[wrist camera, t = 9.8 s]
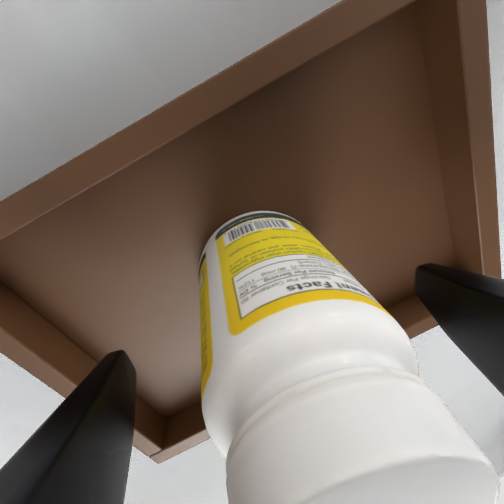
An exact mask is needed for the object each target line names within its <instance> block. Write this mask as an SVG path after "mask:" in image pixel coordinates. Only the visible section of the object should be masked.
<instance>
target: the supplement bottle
mask: <svg viewBox="0 0 504 504" xmlns="http://www.w3.org/2000/svg"><path fill="white" fill-rule="evenodd" d="M198 279H199V305H200V336H201V340H200V343H201V403H202V414H203V418H204V421H205V425H206V429H207V431H208V434H209V436H210V438H211V440H212V442H213V444H214V445H215V447H216V448H217V449H218V451H219V452H220V453H221V454H222V455H223V456H224V457H225V458H226V475H227V477H226V486H227V493H228V501H229V504H495V503H496V500H497V498H498V495H499V491H500V479H499V476H498V473H497V472H496V470H495V468H494V466H493V465H492V463H491V462H490V461H489V459H488V458H487V457H486V455H485V454H484V453H483V452H482V450H481V449H480V448H479V447H478V445H477V444H476V443H475V442H474V440H473V439H472V438H471V437H470V435H469V434H468V433H467V432H466V430H465V429H464V428H463V426H462V425H461V424H460V423H459V421H458V420H457V419H456V418H455V416H454V415H453V414H452V412H451V411H450V410H449V408H448V407H447V405H446V404H445V402H444V401H443V400H442V399H441V398H440V396H439V395H438V394H436V393H435V392H434V391H433V390H431V388H430V387H429V386H428V385H427V384H426V383H425V382H424V381H423V380H422V379H420V378H419V369H418V360H417V356H416V352H415V349H414V347H413V345H412V343H411V341H410V339H409V337H408V335H407V334H406V332H405V331H404V330H403V329H402V327H401V326H400V325H399V324H398V322H397V321H396V320H395V319H394V318H393V317H392V316H391V315H390V314H389V313H388V312H387V311H386V310H385V309H384V308H383V307H382V306H381V305H380V304H379V303H378V302H377V301H376V299H375V298H374V297H373V296H372V295H371V294H370V293H369V292H368V291H367V290H366V289H365V288H364V287H363V286H362V285H361V284H360V283H359V282H358V281H357V280H356V279H355V278H354V277H353V276H352V275H351V274H350V273H349V272H348V270H347V269H346V268H345V267H344V266H343V265H342V264H341V263H340V262H339V261H338V260H337V259H336V258H335V257H334V256H333V255H332V254H331V253H330V252H329V251H328V250H327V249H326V248H325V247H324V246H323V245H322V244H321V243H320V242H319V241H318V240H317V239H316V238H315V237H314V236H313V235H312V234H311V233H310V231H309V230H308V229H307V228H305V227H304V226H303V225H302V224H301V223H300V222H298V221H297V220H295V219H294V218H292V217H290V216H287V215H285V214H282V213H278V212H273V211H254V212H249V213H245V214H242V215H239V216H237V217H235V218H233V219H231V220H229V221H228V222H226V223H225V224H223V225H222V226H221V227H220V228H219V229H217V230H216V231H215V232H214V234H213V235H212V236H211V237H210V239H209V240H208V242H207V244H206V245H205V248H204V250H203V252H202V255H201V258H200V263H199V277H198Z"/></svg>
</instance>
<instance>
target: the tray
mask: <svg viewBox="0 0 504 504" xmlns="http://www.w3.org/2000/svg"><path fill="white" fill-rule="evenodd" d="M254 211H273V212H278V213H282V214H285V215H287V216H290V217H292V218H294V219H295V220H297V221H298V222H300V223H301V224H302V225H303V226H304V227H305V228H307V229H308V230H309V231H310V233H311V234H312V235H313V236H314V237H315V238H316V239H317V240H318V241H319V242H320V243H321V244H322V245H323V246H324V247H325V248H326V249H327V250H328V251H329V252H330V253H331V254H332V255H333V256H334V257H335V258H336V259H337V260H338V261H339V262H340V263H341V264H342V265H343V266H344V267H345V268H346V269H347V270H348V272H349V273H350V274H351V275H352V276H353V277H354V278H355V279H356V280H357V281H358V282H359V283H360V284H361V285H362V286H363V287H364V288H365V289H366V290H367V291H368V292H369V293H370V294H371V295H372V296H373V297H374V298H375V299H376V301H377V302H378V303H379V304H380V305H381V306H382V307H383V308H384V309H385V310H386V311H387V312H388V313H389V314H390V315H391V316H392V317H393V318H394V319H395V320H396V321H397V322H398V324H399V325H400V326H401V327H402V329H403V330H404V331H405V332H406V334H407V335H408V337H409V339H411V338H413V337H415V336H417V335H419V334H421V333H424V332H426V331H428V330H430V329H432V328H434V327H436V326H438V325H439V324H438V323H437V321H436V320H435V319H434V318H433V316H432V315H431V314H430V312H429V311H428V310H427V308H426V307H425V306H424V304H423V303H422V302H421V301H420V299H419V298H418V297H417V295H416V293H415V290H414V281H415V270H416V268H417V266H419V265H423V264H426V263H435V264H439V265H444V266H448V267H452V268H457V269H461V270H465V271H470V272H474V273H478V274H483V275H487V276H491V277H495V278H500V279H501V262H500V244H499V226H498V208H497V190H496V171H495V153H494V135H493V117H492V99H491V81H490V63H489V45H488V27H487V9H486V0H342V1H341V2H339V3H337V4H336V5H334V6H332V7H330V8H329V9H327V10H325V11H324V12H322V13H320V14H319V15H317V16H315V17H313V18H312V19H310V20H308V21H307V22H305V23H303V24H302V25H300V26H298V27H296V28H295V29H293V30H291V31H290V32H288V33H286V34H285V35H283V36H281V37H279V38H278V39H276V40H274V41H273V42H271V43H269V44H268V45H266V46H264V47H262V48H261V49H259V50H257V51H256V52H254V53H252V54H251V55H249V56H247V57H245V58H244V59H242V60H240V61H239V62H237V63H235V64H234V65H232V66H230V67H228V68H227V69H225V70H223V71H222V72H220V73H218V74H217V75H215V76H213V77H211V78H210V79H208V80H206V81H205V82H203V83H201V84H200V85H198V86H196V87H194V88H193V89H191V90H189V91H188V92H186V93H184V94H183V95H181V96H179V97H177V98H176V99H174V100H172V101H171V102H169V103H167V104H165V105H164V106H162V107H160V108H159V109H157V110H155V111H154V112H152V113H150V114H148V115H147V116H145V117H143V118H142V119H140V120H138V121H137V122H135V123H133V124H131V125H130V126H128V127H126V128H125V129H123V130H121V131H120V132H118V133H116V134H114V135H113V136H111V137H109V138H108V139H106V140H104V141H103V142H101V143H99V144H97V145H96V146H94V147H92V148H91V149H89V150H87V151H86V152H84V153H82V154H80V155H79V156H77V157H75V158H74V159H72V160H70V161H69V162H67V163H65V164H63V165H62V166H60V167H58V168H57V169H55V170H53V171H52V172H50V173H48V174H46V175H45V176H43V177H41V178H40V179H38V180H36V181H35V182H33V183H31V184H29V185H28V186H26V187H24V188H23V189H21V190H19V191H18V192H16V193H14V194H12V195H11V196H9V197H7V198H6V199H4V200H2V201H1V202H0V352H1V353H2V354H4V355H5V356H7V357H8V358H9V359H11V360H12V361H14V362H15V363H16V364H18V365H19V366H21V367H22V368H24V369H25V370H26V371H28V372H29V373H31V374H32V375H33V376H35V377H36V378H38V379H39V380H41V381H42V382H43V383H45V384H46V385H48V386H49V387H50V388H52V389H53V390H55V391H56V392H58V393H59V394H60V395H62V396H63V397H65V398H67V397H68V396H69V395H70V394H71V393H72V392H73V390H74V389H75V388H76V387H77V386H78V385H79V384H80V383H81V382H82V381H83V380H84V379H85V377H86V376H87V375H88V374H89V373H90V372H91V371H92V370H93V369H94V368H95V367H96V366H97V364H98V363H99V362H100V361H101V360H102V359H103V358H104V357H105V356H106V355H107V354H108V353H110V352H114V351H117V350H124V351H125V352H126V353H127V355H128V357H129V358H130V360H131V362H132V364H133V365H134V367H135V369H136V373H137V382H136V406H135V427H134V436H133V443H132V445H133V446H134V447H136V448H137V449H138V450H140V451H141V452H143V453H144V454H145V455H147V456H149V457H150V458H151V459H152V460H154V461H155V462H157V463H161V462H163V461H165V460H167V459H169V458H171V457H173V456H175V455H177V454H179V453H181V452H183V451H185V450H188V449H190V448H192V447H194V446H196V445H198V444H200V443H202V442H204V441H206V440H208V439H210V436H209V434H208V431H207V429H206V425H205V421H204V418H203V414H202V403H201V343H200V340H201V336H200V305H199V279H198V277H199V263H200V258H201V255H202V252H203V250H204V248H205V245H206V244H207V242H208V240H209V239H210V237H211V236H212V235H213V234H214V232H215V231H216V230H217V229H219V228H220V227H221V226H222V225H223V224H225V223H226V222H228V221H229V220H231V219H233V218H235V217H237V216H239V215H242V214H245V213H249V212H254Z"/></svg>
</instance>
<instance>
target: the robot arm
mask: <svg viewBox="0 0 504 504" xmlns="http://www.w3.org/2000/svg"><path fill="white" fill-rule="evenodd" d="M414 290H415V293H416V295H417V297H418V298H419V299H420V301H421V302H422V303H423V304H424V306H425V307H426V308H427V310H428V311H429V312H430V314H431V315H432V316H433V318H434V319H435V320H436V321H437V323H438V324H439V325H440V327H441V328H442V329H443V331H444V332H445V333H446V334H447V335H448V337H449V338H450V339H451V340H452V341H453V342H454V343H455V344H456V345H457V346H458V348H459V349H460V350H461V351H462V352H463V353H464V354H465V355H466V356H467V357H468V358H469V359H470V360H471V361H472V363H473V364H474V365H475V366H476V367H477V368H478V369H479V370H480V371H481V372H482V373H483V374H484V375H485V377H486V378H487V379H488V380H489V381H490V382H491V383H492V384H493V385H494V386H495V387H496V388H497V389H498V390H499V392H500V393H501V394H502V395H503V396H504V279H500V278H495V277H491V276H487V275H483V274H478V273H474V272H470V271H465V270H461V269H457V268H452V267H448V266H444V265H439V264H435V263H426V264H423V265H419V266H417V268H416V270H415V281H414ZM136 382H137V373H136V369H135V367H134V365H133V364H132V362H131V360H130V358H129V357H128V355H127V353H126V352H125V351H124V350H117V351H114V352H110V353H108V354H107V355H106V356H105V357H104V358H103V359H102V360H101V361H100V362H99V363H98V364H97V366H96V367H95V368H94V369H93V370H92V371H91V372H90V373H89V374H88V375H87V376H86V377H85V379H84V380H83V381H82V382H81V383H80V384H79V385H78V386H77V387H76V388H75V389H74V390H73V392H72V393H71V394H70V395H69V396H68V397H67V398H66V399H65V400H64V401H63V402H62V403H61V405H60V406H59V407H58V408H57V409H56V410H55V411H54V412H53V413H52V414H51V415H50V416H49V418H48V419H47V420H46V421H45V422H44V423H43V424H42V425H41V426H40V427H39V428H38V429H37V431H36V432H35V433H34V434H33V435H32V436H31V437H30V438H29V439H28V440H27V441H26V442H25V444H24V445H23V446H22V447H21V448H20V449H19V450H18V451H17V452H16V453H15V454H14V455H13V457H12V458H11V459H10V460H9V461H8V462H7V463H6V464H5V465H4V466H3V467H2V468H1V469H0V504H123V503H124V497H125V490H126V483H127V477H128V470H129V463H130V456H131V450H132V443H133V436H134V427H135V406H136Z"/></svg>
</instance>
